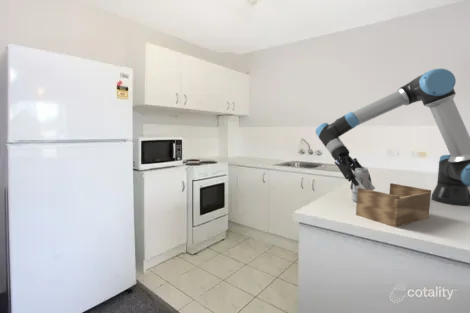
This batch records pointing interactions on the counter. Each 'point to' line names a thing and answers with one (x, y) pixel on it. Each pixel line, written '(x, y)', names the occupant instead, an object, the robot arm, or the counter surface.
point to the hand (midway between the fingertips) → (367, 190)
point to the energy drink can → (363, 178)
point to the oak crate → (394, 205)
